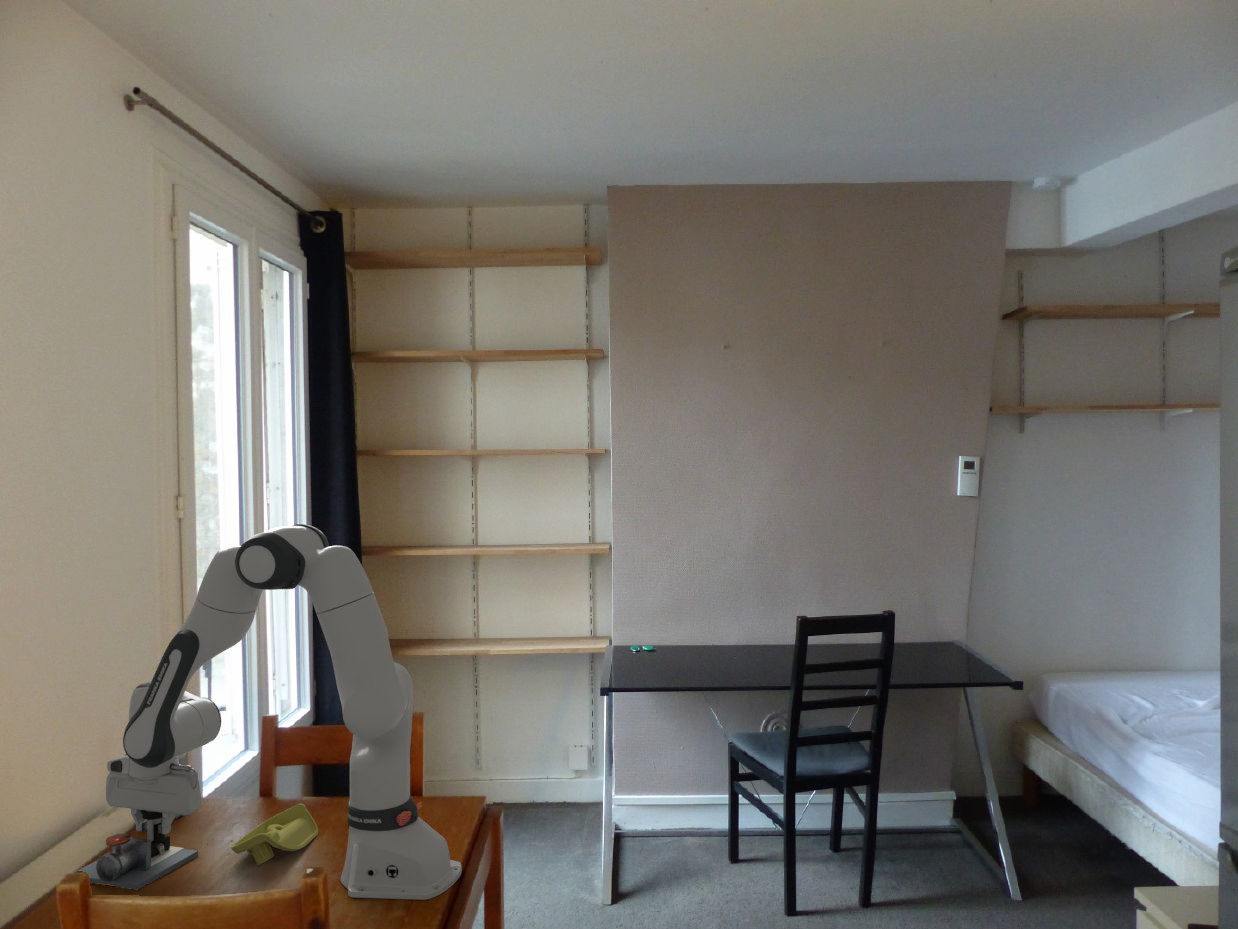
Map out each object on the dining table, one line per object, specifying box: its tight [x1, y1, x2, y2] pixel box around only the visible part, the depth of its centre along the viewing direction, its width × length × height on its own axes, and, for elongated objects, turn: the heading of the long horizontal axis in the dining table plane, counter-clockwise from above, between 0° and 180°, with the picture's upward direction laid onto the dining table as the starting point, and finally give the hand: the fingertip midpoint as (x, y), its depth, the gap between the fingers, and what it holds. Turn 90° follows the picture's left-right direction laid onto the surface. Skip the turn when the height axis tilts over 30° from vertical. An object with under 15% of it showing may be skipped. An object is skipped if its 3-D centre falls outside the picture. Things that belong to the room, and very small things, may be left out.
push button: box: [141, 810, 171, 858], centre depth 171 cm, size 7×5×10 cm
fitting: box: [96, 833, 151, 882], centre depth 163 cm, size 8×6×7 cm
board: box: [74, 845, 199, 890], centre depth 167 cm, size 16×15×1 cm
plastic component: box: [230, 803, 319, 866], centre depth 175 cm, size 20×7×10 cm
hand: (153, 831), depth 171 cm, fingers closed on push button, 4 cm apart
